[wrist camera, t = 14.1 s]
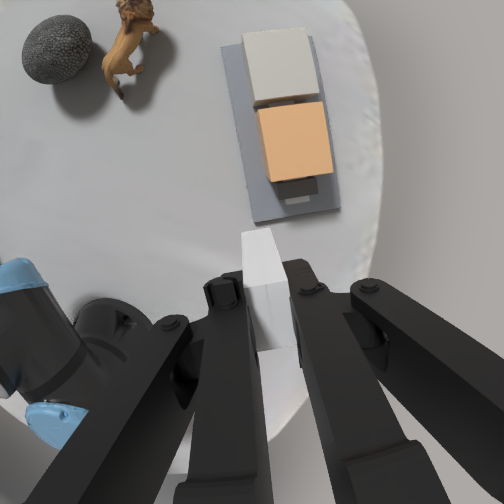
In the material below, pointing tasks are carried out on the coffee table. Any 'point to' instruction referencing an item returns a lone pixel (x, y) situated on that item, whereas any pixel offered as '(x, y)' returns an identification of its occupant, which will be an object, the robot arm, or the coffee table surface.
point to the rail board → (254, 151)
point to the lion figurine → (128, 39)
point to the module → (294, 141)
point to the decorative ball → (56, 49)
